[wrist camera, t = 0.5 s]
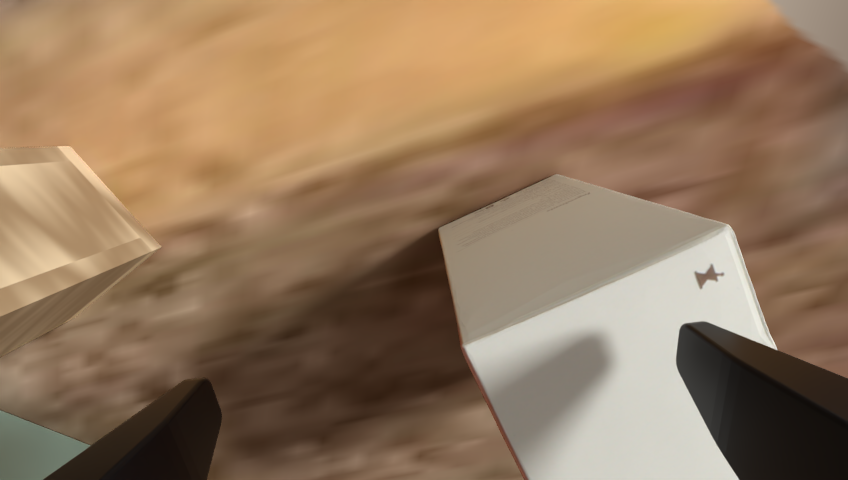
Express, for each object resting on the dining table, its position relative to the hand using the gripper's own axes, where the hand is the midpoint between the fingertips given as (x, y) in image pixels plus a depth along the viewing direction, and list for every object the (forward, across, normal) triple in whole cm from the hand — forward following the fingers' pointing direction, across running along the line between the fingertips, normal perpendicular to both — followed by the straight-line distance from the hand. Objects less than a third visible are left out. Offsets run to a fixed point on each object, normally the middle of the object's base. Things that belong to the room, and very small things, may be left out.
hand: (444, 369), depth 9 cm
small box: (+14, -4, +5) cm, 15 cm away
